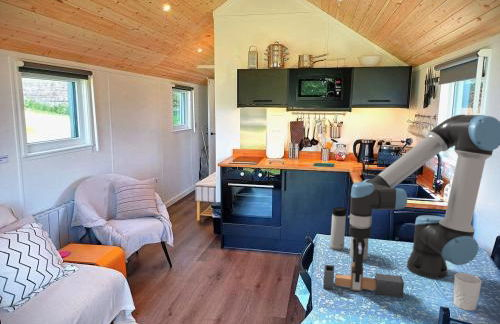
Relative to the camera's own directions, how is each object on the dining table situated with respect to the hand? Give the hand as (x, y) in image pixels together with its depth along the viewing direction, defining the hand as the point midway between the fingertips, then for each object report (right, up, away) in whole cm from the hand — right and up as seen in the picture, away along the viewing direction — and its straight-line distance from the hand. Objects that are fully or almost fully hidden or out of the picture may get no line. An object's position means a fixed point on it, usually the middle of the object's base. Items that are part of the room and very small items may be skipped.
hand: (355, 285), depth 132 cm
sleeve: (+11, -2, -2) cm, 11 cm away
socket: (-10, -1, +2) cm, 10 cm away
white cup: (+35, -4, -10) cm, 36 cm away
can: (+9, +3, +28) cm, 29 cm away
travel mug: (+2, +4, +38) cm, 38 cm away
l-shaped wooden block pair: (+2, -1, 0) cm, 2 cm away
